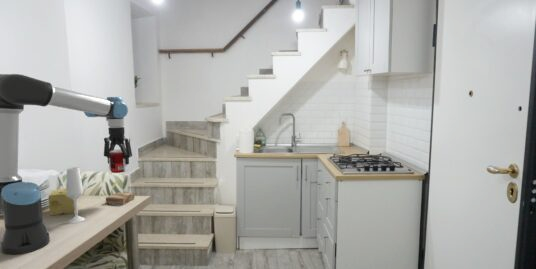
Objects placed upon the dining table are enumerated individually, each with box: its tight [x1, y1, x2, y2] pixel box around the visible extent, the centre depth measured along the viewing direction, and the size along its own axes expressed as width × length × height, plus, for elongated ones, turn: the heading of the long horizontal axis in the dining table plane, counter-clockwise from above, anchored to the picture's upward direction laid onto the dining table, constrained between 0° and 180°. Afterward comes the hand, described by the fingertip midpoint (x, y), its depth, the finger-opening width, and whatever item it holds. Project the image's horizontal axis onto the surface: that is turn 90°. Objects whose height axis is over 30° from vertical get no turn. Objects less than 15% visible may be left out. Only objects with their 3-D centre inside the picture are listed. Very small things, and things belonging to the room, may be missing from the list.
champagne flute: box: [65, 166, 86, 224], centre depth 154 cm, size 7×7×24 cm
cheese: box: [48, 188, 75, 216], centre depth 167 cm, size 10×11×10 cm
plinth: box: [105, 192, 135, 206], centre depth 182 cm, size 10×10×3 cm
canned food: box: [110, 148, 126, 174], centre depth 180 cm, size 8×8×11 cm
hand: (118, 169), depth 180 cm, fingers closed on canned food, 8 cm apart
